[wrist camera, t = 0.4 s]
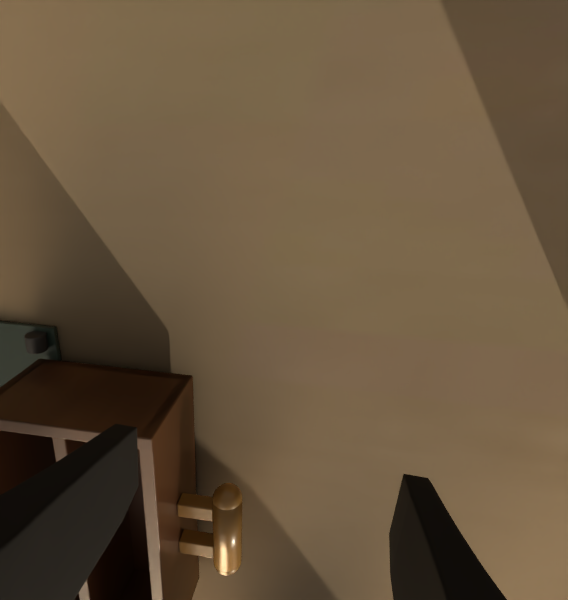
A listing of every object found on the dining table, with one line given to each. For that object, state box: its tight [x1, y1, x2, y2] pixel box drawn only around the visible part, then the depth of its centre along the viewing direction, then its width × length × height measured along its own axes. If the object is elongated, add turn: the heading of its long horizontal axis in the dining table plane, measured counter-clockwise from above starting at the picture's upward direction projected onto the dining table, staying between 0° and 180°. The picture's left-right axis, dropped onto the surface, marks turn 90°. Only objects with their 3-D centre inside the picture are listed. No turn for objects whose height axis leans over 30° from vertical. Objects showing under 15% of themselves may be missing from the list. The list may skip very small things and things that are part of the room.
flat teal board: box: [0, 321, 61, 387], centre depth 26 cm, size 7×17×1 cm, turn 178°
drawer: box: [0, 359, 242, 600], centre depth 23 cm, size 5×14×11 cm
